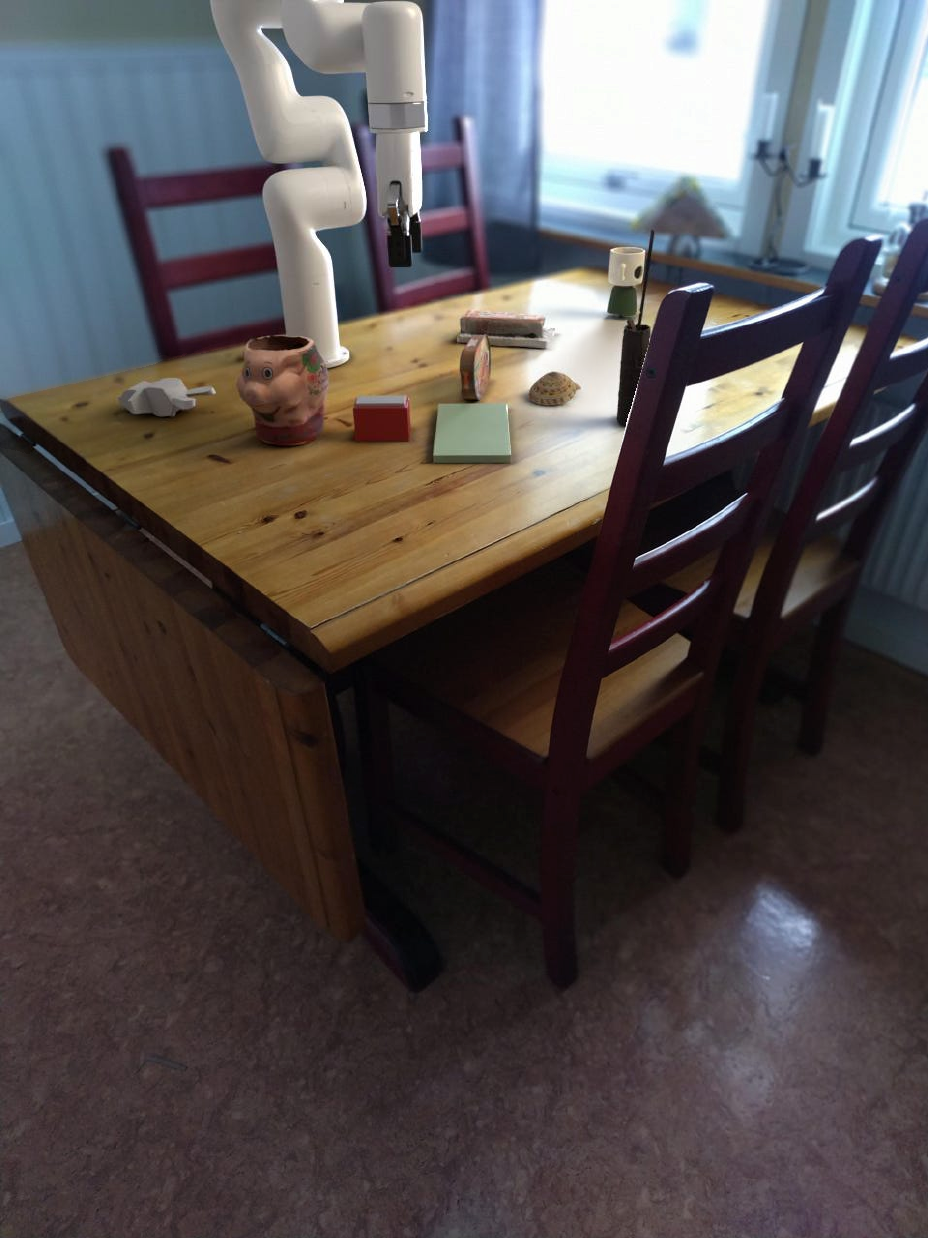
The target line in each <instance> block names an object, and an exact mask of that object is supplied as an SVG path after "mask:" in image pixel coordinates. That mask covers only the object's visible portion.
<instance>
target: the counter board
mask: <svg viewBox="0 0 928 1238" xmlns="http://www.w3.org/2000/svg"><path fill="white" fill-rule="evenodd" d="M508 411H509V410H508V403H438V405H437V414H436V423H435V434H434V443H433V451H432V452H433V453H432V462H433V464H501V463H502V464H510V463H512V449H511V439H510V438H511V437H510V427H509V425H510V424H509V413H508Z"/></svg>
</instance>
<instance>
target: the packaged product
mask: <svg viewBox="0 0 928 1238" xmlns="http://www.w3.org/2000/svg"><path fill="white" fill-rule="evenodd" d="M546 320H547V319H546V316H544V315H536V314H527V313H526V314H524V313H515V312H513V313H512V312H499V311H488V310H487V311H486V310H473V309H471V310H467V311H466V312H465V313H464V314H463V315H462V317H461V318H460V319H459V321H460V322H459V326H460V330H459V333H457V336H456V342H457V343H464V344H465V343H466V344H467V343H468V341H469V339H470V338H471V337H472V336H474V335H485V334H487V335H488V337H489V341H490V346H495V347H524V348H526V347H527V348H535V349H547V347H548V345H549V344H550V342H551V341H552V339H553V338H554V336H555V332H556V328H555V327H554V328H553V327H550V328H547V327H544V326H545V322H546Z"/></svg>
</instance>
